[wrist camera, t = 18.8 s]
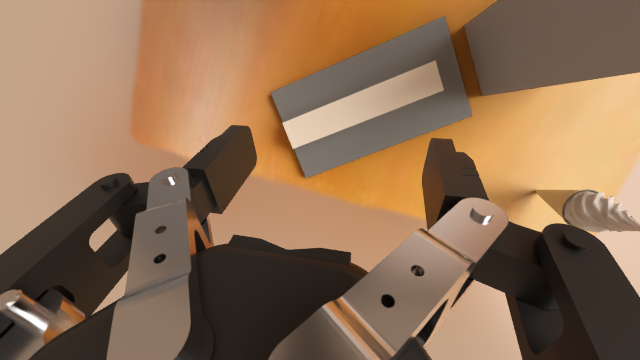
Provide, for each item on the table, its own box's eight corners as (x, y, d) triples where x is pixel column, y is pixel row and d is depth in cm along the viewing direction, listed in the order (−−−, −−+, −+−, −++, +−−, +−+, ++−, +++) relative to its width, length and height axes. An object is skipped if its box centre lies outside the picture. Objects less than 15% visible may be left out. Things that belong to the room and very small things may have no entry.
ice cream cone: (560, 196, 41) (681, 240, 26) (527, 212, 42) (627, 263, 27) (547, 169, 40) (665, 198, 26) (514, 185, 41) (610, 223, 26)
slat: (295, 147, 41) (292, 149, 39) (285, 122, 40) (282, 122, 38) (437, 92, 38) (443, 90, 35) (429, 64, 37) (435, 60, 35)
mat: (306, 176, 43) (306, 178, 42) (272, 93, 41) (270, 92, 39) (468, 115, 39) (472, 115, 38) (441, 18, 37) (444, 15, 35)
